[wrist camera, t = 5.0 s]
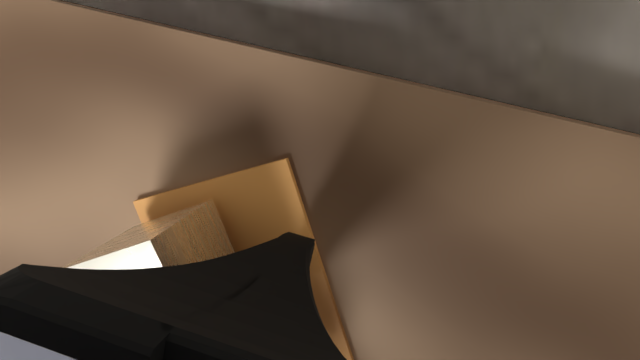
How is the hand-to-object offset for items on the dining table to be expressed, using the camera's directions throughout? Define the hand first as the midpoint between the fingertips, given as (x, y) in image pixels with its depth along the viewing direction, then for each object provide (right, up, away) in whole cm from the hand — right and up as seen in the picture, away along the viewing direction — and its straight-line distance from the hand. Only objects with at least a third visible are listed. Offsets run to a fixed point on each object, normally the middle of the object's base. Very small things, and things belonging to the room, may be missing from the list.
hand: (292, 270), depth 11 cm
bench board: (-2, -3, +4) cm, 6 cm away
